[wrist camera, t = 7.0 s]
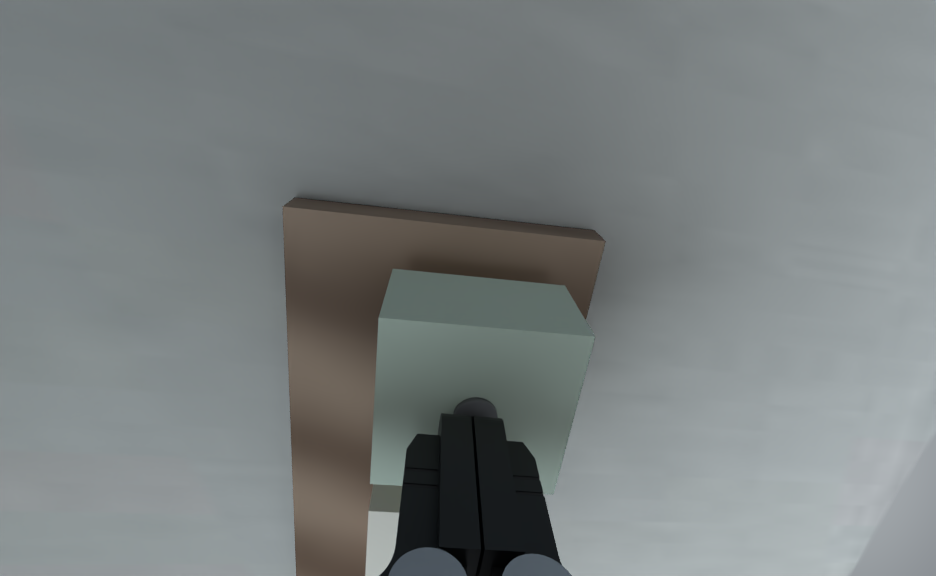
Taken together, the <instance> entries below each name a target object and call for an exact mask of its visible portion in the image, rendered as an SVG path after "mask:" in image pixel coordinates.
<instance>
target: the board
mask: <svg viewBox="0 0 936 576" xmlns="http://www.w3.org/2000/svg"><path fill="white" fill-rule="evenodd" d="M283 231H284V258H285V284H286V311H287V338H288V365H289V392H290V419H291V446H292V473H293V500H294V527H295V554H296V576H365V570H366V551H367V531H368V512H369V506H370V500H371V495H372V489H373V484H370V473H371V454H372V435H373V415H374V396H375V377H376V357H377V338H378V318H379V314H380V311H381V308H382V304H383V301H384V297H385V294H386V290H387V287H388V283H389V280H390V277H391V273H392V270H393V269H401V270H412V271H422V272H432V273H442V274H452V275H463V276H473V277H483V278H493V279H503V280H514V281H524V282H534V283H544V284H554V285H565V286H566V288H567V290H568V291H569V293H570V295H571V297H572V298H573V300H574V302H575V303H576V305H577V307H578V308H579V310H580V312H581V313H582V315H583V317H584V319H585V320H586V317H587V313H588V309H589V305H590V301H591V297H592V293H593V289H594V285H595V281H596V277H597V273H598V269H599V265H600V261H601V257H602V254H603V250H604V246H605V242H606V241H605V240H604V239H603V238H602V237H601V236H600V235H599V234H598V233H597V232H596V231H595V230H586V229H577V228H568V227H559V226H550V225H541V224H532V223H522V222H513V221H504V220H495V219H486V218H477V217H468V216H458V215H449V214H440V213H431V212H422V211H413V210H404V209H394V208H385V207H376V206H367V205H358V204H349V203H340V202H330V201H321V200H312V199H303V198H293V199H292V200H291V201H289V202H288V203H287V204H285V205H284V206H283Z"/></svg>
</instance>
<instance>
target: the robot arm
mask: <svg viewBox="0 0 936 576" xmlns="http://www.w3.org/2000/svg"><path fill="white" fill-rule="evenodd" d="M539 478H540V477H539V472H538V468H537V464H536V460H535V458H534V456H533V455H532V454H531V452H530V451H529V450H528V448H527V447H526V446H525V444H524V443H523V442H516V441H507V439H506V433H505V427H504V421H503V419H502V418H492V417H480V416H472V419H471V416H467V415H456V414H444V413H441V415H440V421H439V428H438V435H429V434H417V435H416V436H415V438H414V439H413V440H412V442H411V443H410V445H409V446H408V447H407V450H406V459H405V467H404V476H403V485H402V493H401V502H400V511H399V519H398V528H397V537H396V545H395V551H394V554H393V557H392V559H391V561H390V563H389V565H388V566H387V568H386V569H385V570H384V571H383V572H382V573H381V574H380V575H379V576H572V575H571V574H570V573H569V572H568V571H567V570H566V569H565V568H564V567H563V566H562V564H561V562H560V559H559V556H558V552H557V547H556V543H555V539H554V535H553V531H552V527H551V522H550V518H549V514H548V510H547V506H546V502H545V497H544V496H543V489H542V485H541V481H540V480H539Z"/></svg>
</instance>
